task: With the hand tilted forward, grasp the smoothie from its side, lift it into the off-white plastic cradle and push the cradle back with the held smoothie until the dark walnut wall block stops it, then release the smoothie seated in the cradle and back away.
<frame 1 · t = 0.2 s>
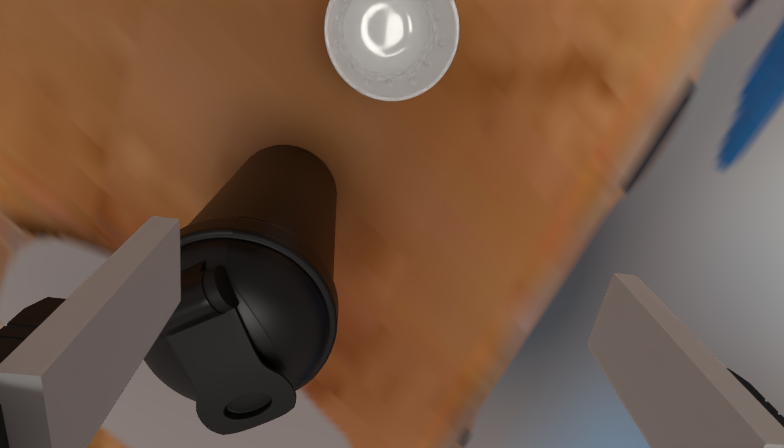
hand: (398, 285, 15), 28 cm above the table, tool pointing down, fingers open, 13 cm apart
water bottle: (287, 192, 43), on the table
white cup: (384, 27, 39), on the table
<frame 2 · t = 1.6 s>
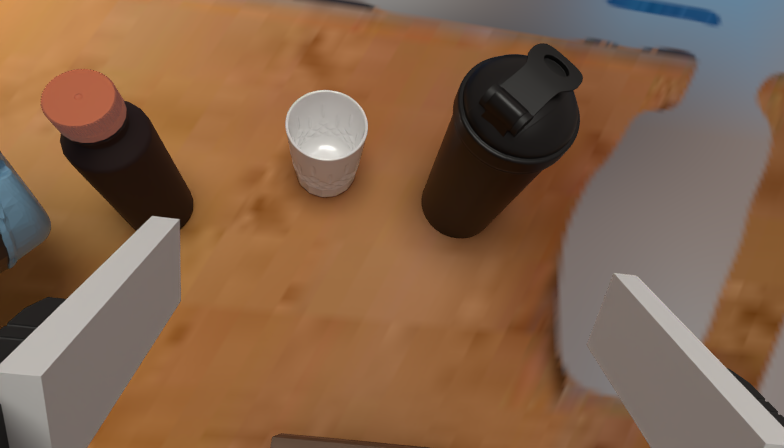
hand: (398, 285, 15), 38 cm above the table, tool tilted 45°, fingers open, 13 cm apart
water bottle: (456, 204, 59), on the table
white cup: (325, 171, 58), on the table
vinegar: (161, 208, 54), on the table
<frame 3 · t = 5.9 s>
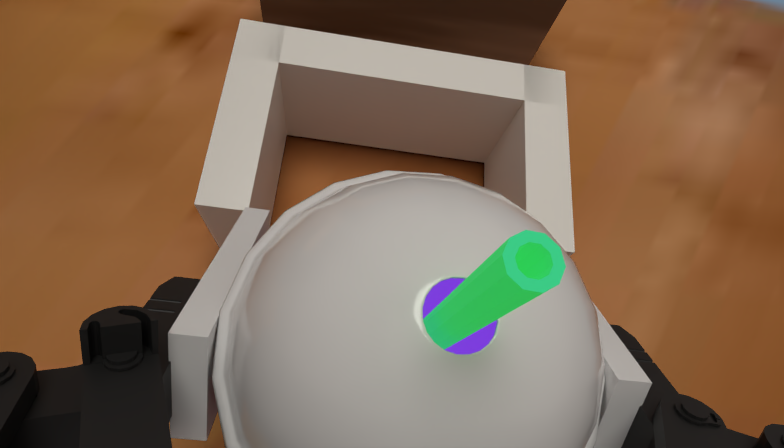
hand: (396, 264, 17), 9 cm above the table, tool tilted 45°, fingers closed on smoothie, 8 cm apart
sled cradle: (390, 163, 24), point 3 cm above the table, slide at 0.0 cm
smoothie: (363, 386, 24), on the table, touching gripper
backstop wall: (399, 31, 31), on the table
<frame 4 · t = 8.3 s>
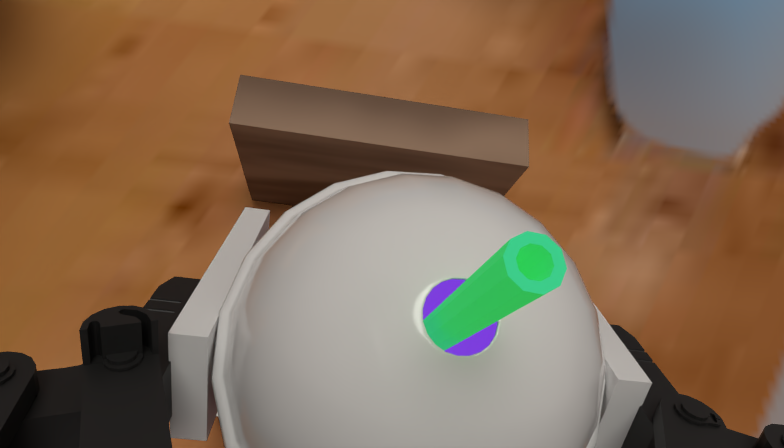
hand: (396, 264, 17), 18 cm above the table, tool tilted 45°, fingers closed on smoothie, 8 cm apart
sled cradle: (353, 344, 30), point 3 cm above the table, slide at 0.0 cm
smoothie: (363, 386, 24), point 9 cm above the table, touching gripper
backstop wall: (368, 195, 37), on the table
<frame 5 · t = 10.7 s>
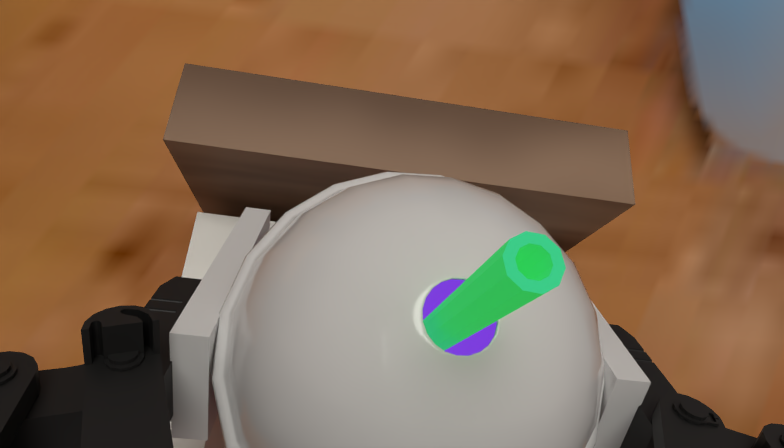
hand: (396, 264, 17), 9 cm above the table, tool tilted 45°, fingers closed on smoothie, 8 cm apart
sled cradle: (372, 360, 21), point 3 cm above the table, slide at 4.1 cm, touching smoothie
smoothie: (363, 387, 24), touching gripper, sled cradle
backstop wall: (380, 233, 27), on the table
when the fingers open (9 cm above the table, at t = 10.9 s): smoothie stays where it is, on the table.
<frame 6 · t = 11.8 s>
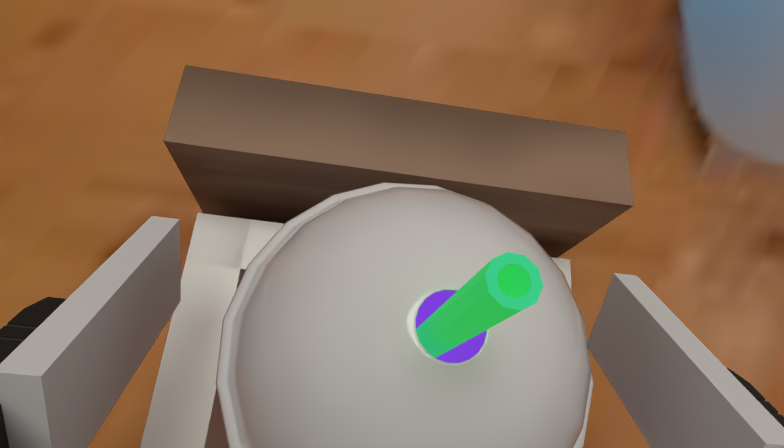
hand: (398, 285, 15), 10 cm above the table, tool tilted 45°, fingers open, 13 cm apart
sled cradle: (371, 360, 21), point 3 cm above the table, slide at 4.1 cm
smoothie: (362, 388, 24), on the table
backstop wall: (379, 234, 27), on the table
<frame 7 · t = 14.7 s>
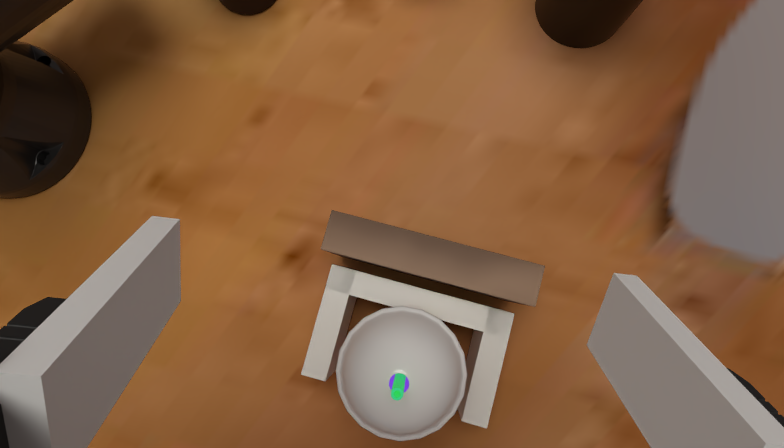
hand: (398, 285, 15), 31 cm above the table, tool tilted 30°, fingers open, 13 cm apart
water bottle: (578, 7, 49), on the table
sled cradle: (408, 339, 43), point 3 cm above the table, slide at 4.1 cm
smoothie: (406, 345, 46), on the table
backstop wall: (428, 262, 47), on the table
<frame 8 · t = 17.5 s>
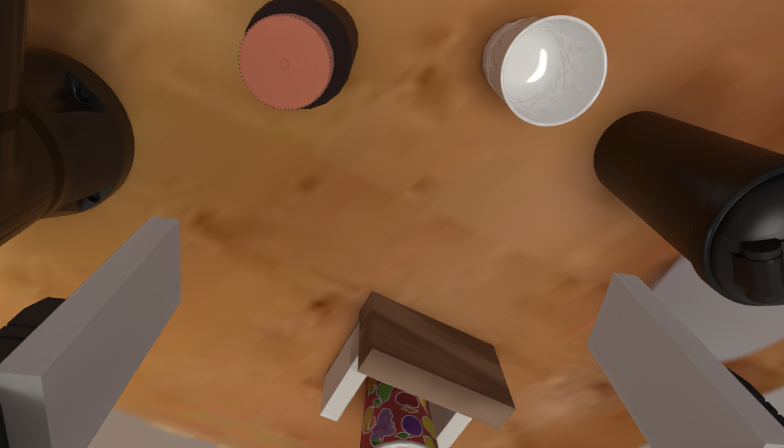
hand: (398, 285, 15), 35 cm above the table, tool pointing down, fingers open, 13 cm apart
water bottle: (635, 153, 51), on the table
white cup: (517, 58, 47), on the table
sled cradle: (399, 390, 57), point 3 cm above the table, slide at 4.1 cm
smoothie: (394, 376, 61), on the table
vinegar: (320, 38, 45), on the table
backstop wall: (428, 329, 58), on the table
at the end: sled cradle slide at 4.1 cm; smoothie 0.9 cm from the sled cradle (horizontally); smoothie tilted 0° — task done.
